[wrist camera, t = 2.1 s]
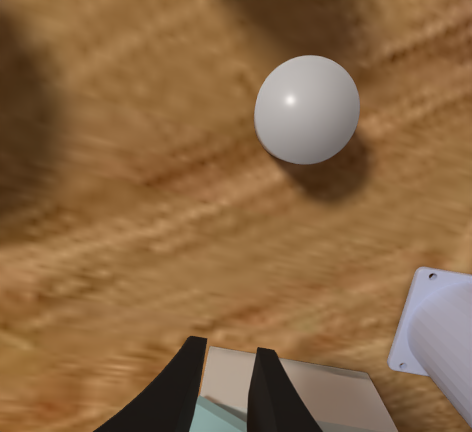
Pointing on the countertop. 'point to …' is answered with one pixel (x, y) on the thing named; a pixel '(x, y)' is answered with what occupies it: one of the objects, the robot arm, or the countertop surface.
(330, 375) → the box
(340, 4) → the countertop surface
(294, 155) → the grey rounded dome
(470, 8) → the countertop surface
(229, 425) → the lid
